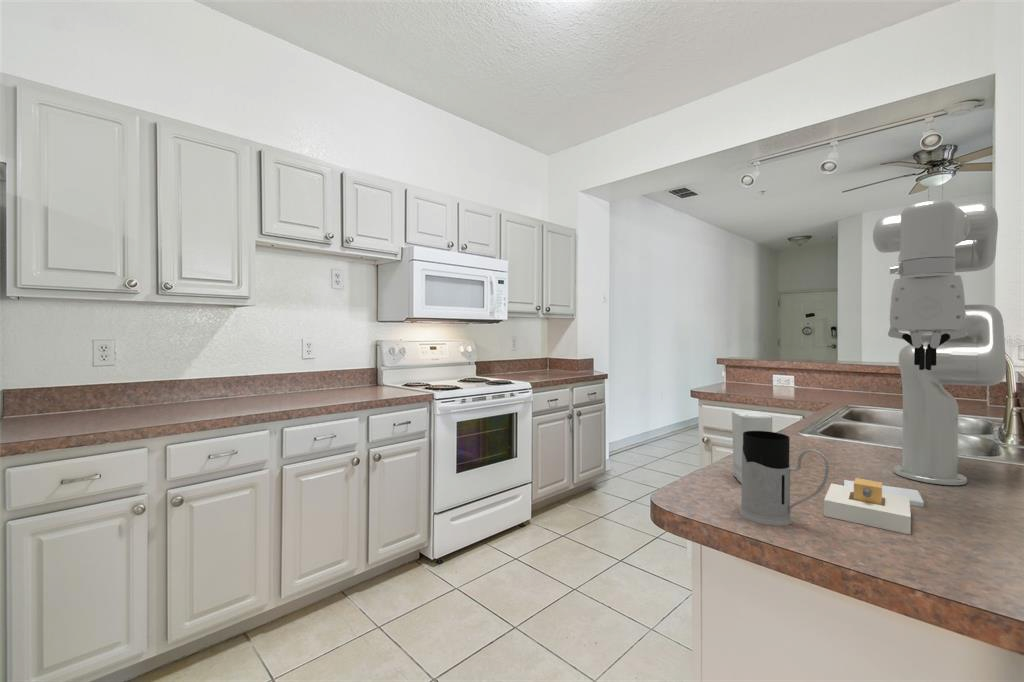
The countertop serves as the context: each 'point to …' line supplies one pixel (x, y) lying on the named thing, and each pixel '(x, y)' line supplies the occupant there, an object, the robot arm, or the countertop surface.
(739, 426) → the skincare box
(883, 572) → the countertop surface
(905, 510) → the socket
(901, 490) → the external hard drive
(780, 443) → the glass holder
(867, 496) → the plug
